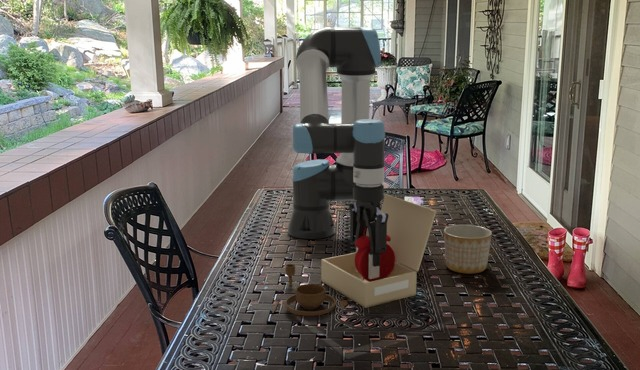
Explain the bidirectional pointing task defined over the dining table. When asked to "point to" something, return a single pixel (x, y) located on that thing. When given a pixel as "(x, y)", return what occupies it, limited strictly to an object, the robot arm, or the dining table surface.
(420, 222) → the lid
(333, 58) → the robot arm
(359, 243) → the alarm clock
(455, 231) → the planter
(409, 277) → the box
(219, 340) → the dining table surface
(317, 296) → the place setting
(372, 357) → the dining table surface
